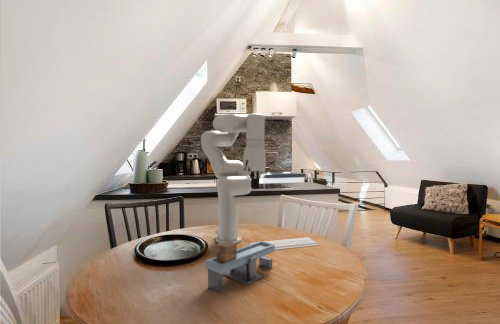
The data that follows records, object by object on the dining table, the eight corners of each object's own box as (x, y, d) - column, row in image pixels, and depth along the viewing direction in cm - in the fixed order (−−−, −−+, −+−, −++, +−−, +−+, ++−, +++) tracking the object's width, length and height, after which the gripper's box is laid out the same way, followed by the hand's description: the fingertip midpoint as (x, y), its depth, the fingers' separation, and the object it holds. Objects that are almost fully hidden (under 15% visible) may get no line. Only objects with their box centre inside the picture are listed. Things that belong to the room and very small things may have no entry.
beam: (205, 267, 103) (205, 259, 103) (259, 247, 124) (259, 240, 124) (221, 274, 98) (221, 265, 98) (275, 251, 119) (275, 244, 119)
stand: (201, 284, 105) (201, 261, 104) (255, 261, 126) (255, 242, 125) (225, 295, 97) (226, 271, 96) (279, 269, 118) (279, 249, 117)
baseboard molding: (320, 247, 145) (307, 240, 157) (320, 241, 145) (307, 234, 157) (258, 254, 135) (249, 246, 147) (258, 247, 135) (249, 240, 147)
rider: (216, 261, 104) (216, 244, 104) (227, 257, 108) (227, 240, 107) (225, 265, 101) (225, 247, 101) (236, 261, 105) (236, 243, 105)
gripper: (259, 144, 137) (259, 185, 138) (236, 143, 126) (236, 188, 127) (273, 144, 132) (273, 187, 133) (250, 143, 121) (249, 190, 122)
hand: (255, 187), depth 130 cm, fingers closed
